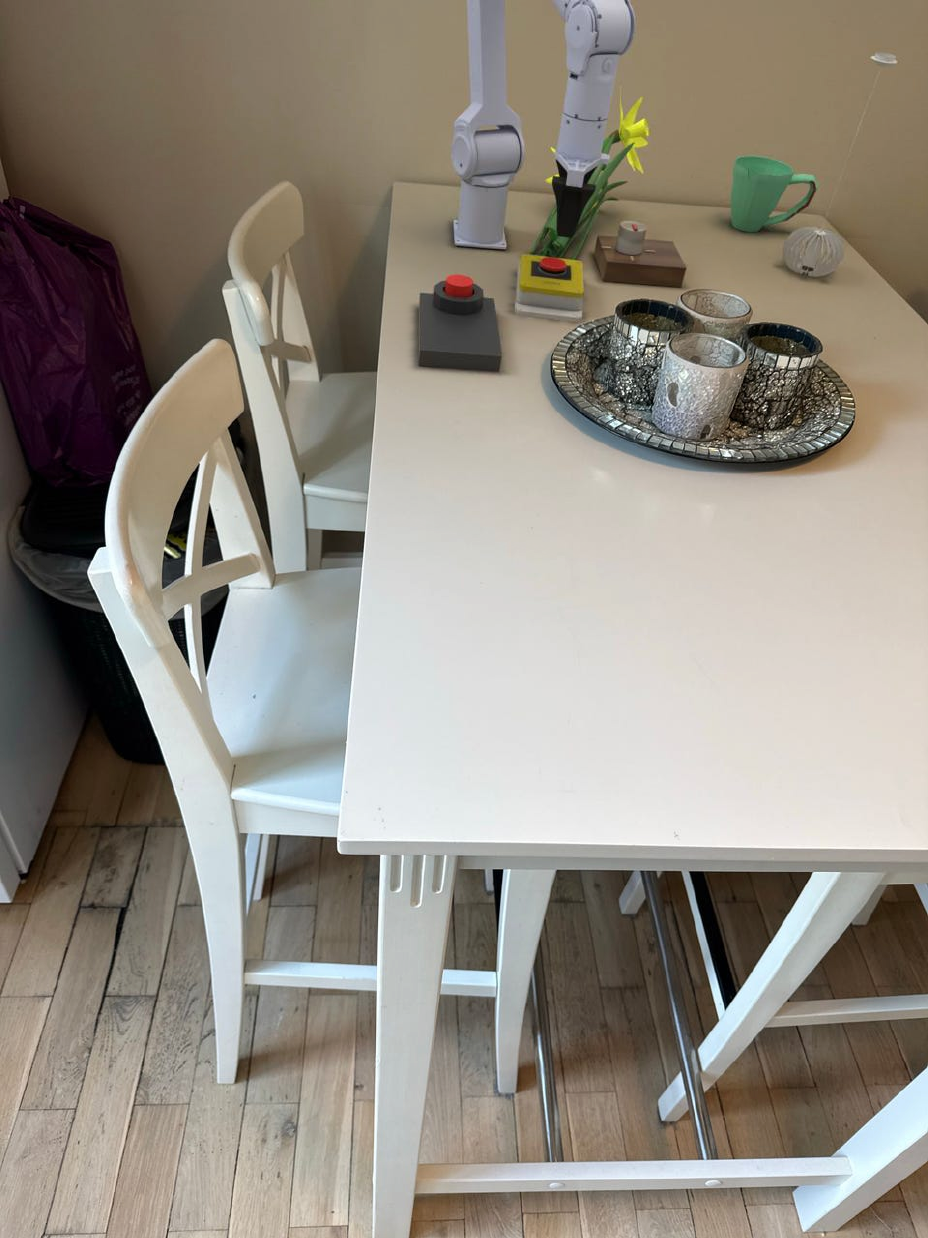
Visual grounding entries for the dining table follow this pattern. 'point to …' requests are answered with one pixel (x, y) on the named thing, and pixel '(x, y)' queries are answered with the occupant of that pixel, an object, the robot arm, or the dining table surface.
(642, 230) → the dimmer knob
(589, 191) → the robot arm
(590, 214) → the daffodil flowers
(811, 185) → the mug
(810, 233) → the pendant light
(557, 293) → the emergency button
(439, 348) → the switch box
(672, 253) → the dimmer panel
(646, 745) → the dining table surface
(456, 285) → the light button
